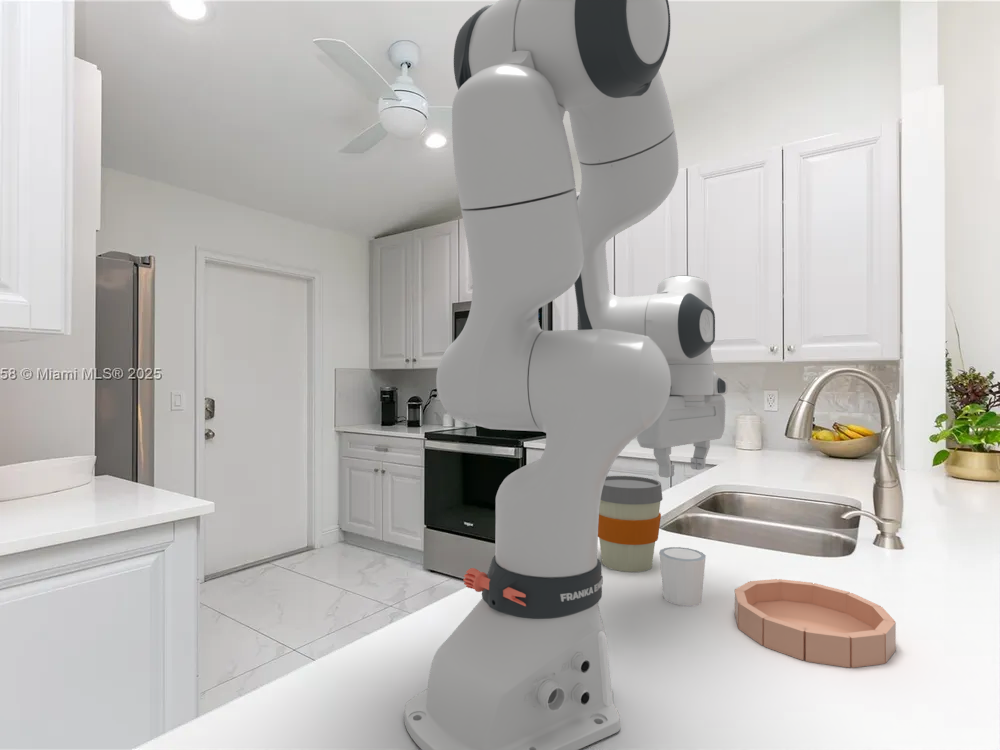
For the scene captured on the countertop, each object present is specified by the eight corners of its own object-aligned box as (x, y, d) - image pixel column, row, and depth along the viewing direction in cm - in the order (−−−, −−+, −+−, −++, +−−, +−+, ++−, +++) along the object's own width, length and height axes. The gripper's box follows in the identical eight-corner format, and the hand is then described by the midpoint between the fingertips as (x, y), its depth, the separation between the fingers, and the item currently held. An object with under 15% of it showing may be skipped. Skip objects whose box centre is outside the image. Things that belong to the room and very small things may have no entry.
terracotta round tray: (869, 684, 60) (869, 652, 60) (712, 627, 74) (712, 602, 74) (908, 633, 72) (908, 607, 72) (767, 593, 86) (767, 570, 86)
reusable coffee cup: (677, 566, 98) (677, 483, 98) (629, 581, 91) (629, 491, 91) (624, 548, 108) (625, 473, 108) (578, 560, 101) (578, 479, 101)
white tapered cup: (709, 609, 80) (709, 562, 80) (661, 605, 81) (661, 558, 81) (701, 591, 86) (702, 547, 86) (657, 588, 88) (657, 545, 88)
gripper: (664, 384, 75) (664, 485, 75) (732, 383, 88) (732, 467, 88) (626, 384, 79) (626, 478, 79) (696, 382, 93) (696, 463, 93)
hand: (682, 472), depth 84 cm, fingers open, 8 cm apart
